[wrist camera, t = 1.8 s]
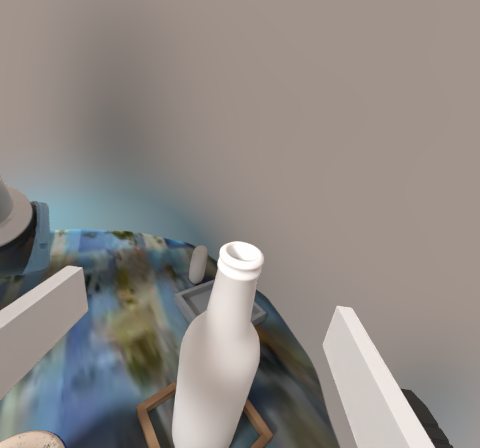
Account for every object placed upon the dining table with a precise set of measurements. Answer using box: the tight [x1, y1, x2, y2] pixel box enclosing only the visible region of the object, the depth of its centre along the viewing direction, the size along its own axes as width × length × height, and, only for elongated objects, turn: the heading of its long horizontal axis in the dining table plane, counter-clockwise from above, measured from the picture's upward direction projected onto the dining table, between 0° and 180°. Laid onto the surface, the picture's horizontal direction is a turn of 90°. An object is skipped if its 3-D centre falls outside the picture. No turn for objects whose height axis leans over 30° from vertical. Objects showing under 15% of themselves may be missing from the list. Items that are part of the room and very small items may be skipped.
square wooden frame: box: [136, 381, 273, 448], centre depth 32 cm, size 14×14×2 cm
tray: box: [174, 279, 266, 327], centre depth 51 cm, size 15×15×2 cm
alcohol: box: [172, 242, 264, 448], centre depth 26 cm, size 9×9×30 cm
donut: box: [189, 245, 208, 284], centre depth 57 cm, size 10×4×10 cm, turn 178°
